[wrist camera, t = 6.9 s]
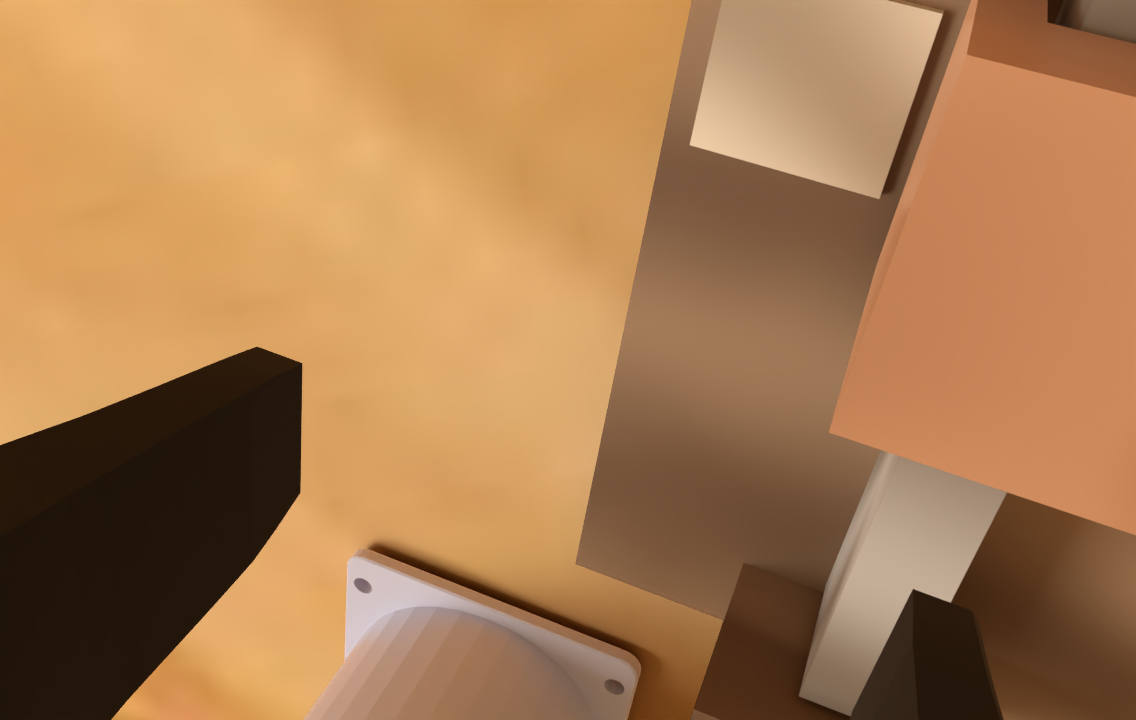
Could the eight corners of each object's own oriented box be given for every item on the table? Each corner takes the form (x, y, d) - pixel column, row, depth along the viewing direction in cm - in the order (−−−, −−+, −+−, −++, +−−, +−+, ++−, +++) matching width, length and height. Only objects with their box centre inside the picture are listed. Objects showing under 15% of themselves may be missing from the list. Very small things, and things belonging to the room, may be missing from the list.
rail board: (1124, 734, 23) (1140, 961, 19) (590, 535, 25) (504, 697, 21) (1824, -228, 12) (2195, -177, 8) (790, -403, 15) (696, -427, 11)
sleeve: (1130, 340, 17) (1153, 541, 13) (876, 264, 18) (828, 431, 14) (1300, 25, 14) (1396, 162, 10) (987, -47, 15) (966, 54, 11)
